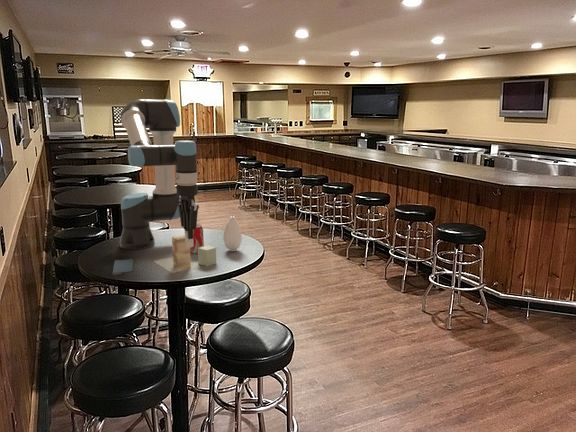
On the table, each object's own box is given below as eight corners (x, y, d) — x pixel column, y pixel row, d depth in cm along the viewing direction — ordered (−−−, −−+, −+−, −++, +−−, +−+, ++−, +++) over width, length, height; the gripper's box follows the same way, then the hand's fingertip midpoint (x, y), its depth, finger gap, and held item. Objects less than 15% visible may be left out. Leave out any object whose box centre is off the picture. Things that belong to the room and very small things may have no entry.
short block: (198, 265, 182) (197, 248, 180) (207, 261, 186) (207, 245, 184) (207, 267, 179) (206, 250, 177) (216, 264, 183) (215, 247, 181)
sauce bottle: (239, 247, 206) (239, 208, 202) (243, 252, 198) (242, 212, 194) (222, 249, 203) (221, 209, 199) (225, 254, 196) (224, 213, 192)
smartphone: (111, 273, 169) (114, 259, 183) (112, 277, 170) (114, 263, 183) (133, 271, 171) (133, 258, 185) (133, 275, 172) (134, 262, 186)
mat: (153, 261, 185) (153, 261, 185) (180, 256, 192) (180, 255, 192) (171, 274, 171) (171, 272, 171) (200, 267, 178) (200, 266, 178)
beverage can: (200, 255, 194) (199, 227, 191) (186, 254, 195) (185, 227, 193) (206, 251, 200) (205, 224, 197) (192, 250, 201) (191, 223, 199)
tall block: (173, 266, 178) (171, 236, 175) (185, 264, 181) (183, 234, 178) (178, 270, 174) (177, 239, 172) (190, 267, 177) (189, 237, 175)
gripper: (169, 182, 168) (172, 244, 173) (185, 187, 158) (188, 252, 163) (188, 181, 172) (190, 241, 177) (204, 185, 162) (206, 249, 167)
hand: (189, 246), depth 170 cm, fingers closed
